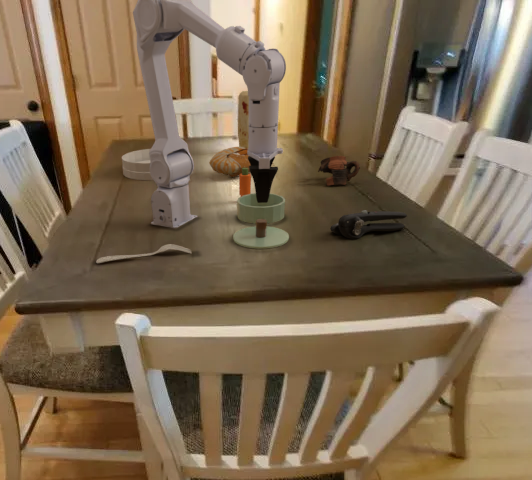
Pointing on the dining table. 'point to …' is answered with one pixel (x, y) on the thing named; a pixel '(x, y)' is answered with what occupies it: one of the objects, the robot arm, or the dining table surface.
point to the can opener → (355, 226)
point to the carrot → (244, 182)
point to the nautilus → (231, 161)
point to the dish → (137, 165)
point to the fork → (163, 248)
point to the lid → (261, 236)
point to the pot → (260, 208)
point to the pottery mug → (338, 170)
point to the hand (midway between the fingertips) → (261, 196)
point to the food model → (243, 119)
